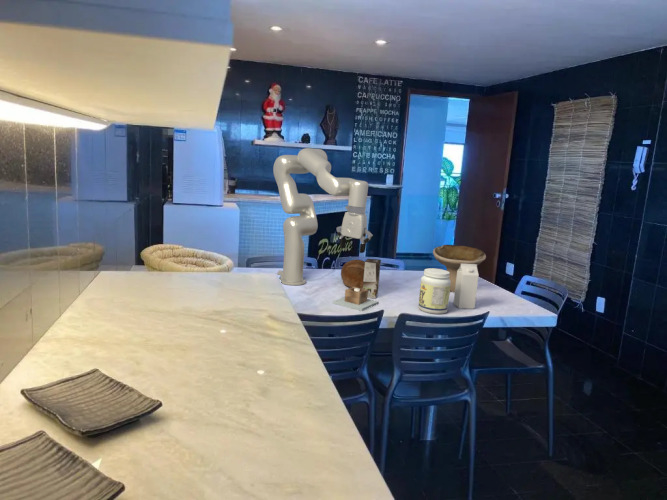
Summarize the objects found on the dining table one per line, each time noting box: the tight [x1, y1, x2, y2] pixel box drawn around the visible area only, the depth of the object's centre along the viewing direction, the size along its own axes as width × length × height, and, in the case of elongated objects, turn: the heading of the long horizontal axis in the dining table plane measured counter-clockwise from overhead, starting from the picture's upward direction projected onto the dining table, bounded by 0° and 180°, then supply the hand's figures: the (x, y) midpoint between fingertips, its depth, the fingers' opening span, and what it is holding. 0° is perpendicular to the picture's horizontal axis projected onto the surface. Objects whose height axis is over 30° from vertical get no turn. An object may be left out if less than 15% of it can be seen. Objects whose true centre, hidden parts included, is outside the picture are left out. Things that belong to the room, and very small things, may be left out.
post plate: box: [332, 288, 379, 312], centre depth 211 cm, size 14×14×6 cm
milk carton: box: [453, 264, 479, 310], centre depth 218 cm, size 7×7×19 cm
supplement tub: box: [417, 267, 451, 315], centre depth 209 cm, size 12×12×17 cm
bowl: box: [432, 244, 487, 293], centre depth 248 cm, size 26×25×20 cm
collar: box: [344, 287, 368, 305], centre depth 211 cm, size 7×7×5 cm
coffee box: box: [363, 258, 382, 300], centre depth 225 cm, size 9×6×16 cm
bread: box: [340, 259, 365, 289], centre depth 246 cm, size 16×29×11 cm, turn 2°
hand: (352, 250), depth 213 cm, fingers open, 9 cm apart
